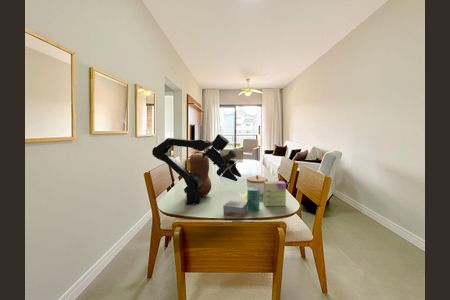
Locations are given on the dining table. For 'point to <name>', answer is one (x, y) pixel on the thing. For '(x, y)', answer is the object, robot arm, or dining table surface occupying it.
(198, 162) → the butternut squash
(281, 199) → the box
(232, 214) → the tower bottom slab
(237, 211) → the tower top slab
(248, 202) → the teal block
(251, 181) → the lidded bowl
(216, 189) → the dining table surface
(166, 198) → the dining table surface
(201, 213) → the dining table surface
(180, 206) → the dining table surface
